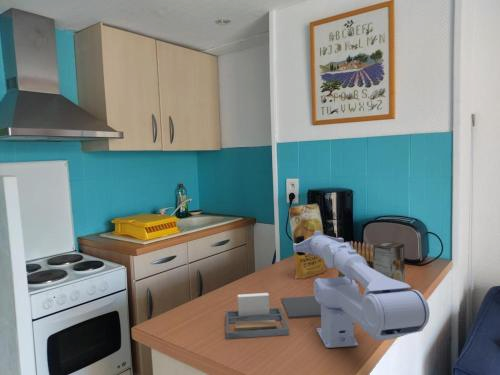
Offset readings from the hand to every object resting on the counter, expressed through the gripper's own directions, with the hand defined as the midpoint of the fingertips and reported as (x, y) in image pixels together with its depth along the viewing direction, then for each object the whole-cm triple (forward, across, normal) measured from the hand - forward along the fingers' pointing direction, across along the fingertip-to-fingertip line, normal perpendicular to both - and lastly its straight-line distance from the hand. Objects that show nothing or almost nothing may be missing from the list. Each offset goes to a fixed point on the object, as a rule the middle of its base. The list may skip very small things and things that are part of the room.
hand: (309, 239), depth 109 cm
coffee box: (+8, -29, +23) cm, 38 cm away
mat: (0, +3, +21) cm, 21 cm away
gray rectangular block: (-3, +20, +20) cm, 29 cm away
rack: (-8, +20, +20) cm, 30 cm away
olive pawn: (+15, -17, +22) cm, 31 cm away
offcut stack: (-11, +21, +21) cm, 32 cm away
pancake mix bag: (+31, -8, +20) cm, 38 cm away
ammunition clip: (+29, -30, +22) cm, 47 cm away
